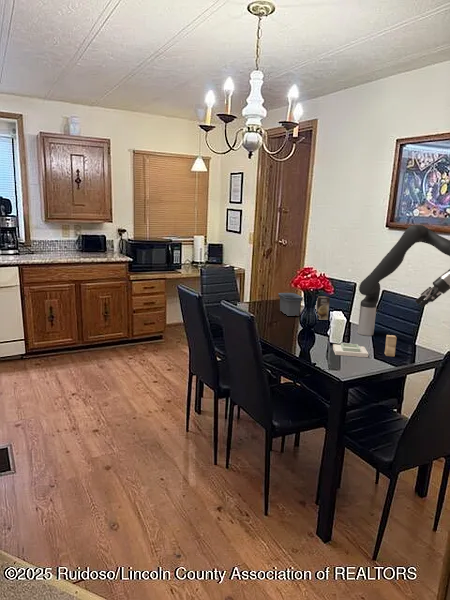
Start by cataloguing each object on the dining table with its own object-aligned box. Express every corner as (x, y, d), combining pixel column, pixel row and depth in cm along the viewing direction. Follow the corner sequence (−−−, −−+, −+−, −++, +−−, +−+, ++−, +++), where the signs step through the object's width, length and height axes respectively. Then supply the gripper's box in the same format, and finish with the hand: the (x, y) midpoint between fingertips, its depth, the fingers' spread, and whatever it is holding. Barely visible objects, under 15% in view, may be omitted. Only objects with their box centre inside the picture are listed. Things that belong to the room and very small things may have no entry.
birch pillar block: (384, 353, 219) (386, 335, 217) (392, 354, 218) (394, 335, 217) (386, 355, 215) (388, 337, 213) (394, 356, 215) (396, 337, 213)
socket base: (332, 347, 225) (333, 341, 225) (363, 350, 223) (364, 343, 223) (335, 354, 214) (335, 348, 213) (367, 357, 212) (368, 350, 211)
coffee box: (316, 321, 285) (318, 297, 282) (311, 318, 291) (313, 295, 288) (328, 320, 287) (330, 297, 284) (323, 318, 293) (325, 295, 290)
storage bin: (275, 311, 310) (276, 292, 307) (295, 311, 313) (296, 292, 310) (285, 318, 289) (286, 297, 287) (306, 318, 293) (307, 297, 290)
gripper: (435, 275, 213) (409, 296, 217) (445, 278, 199) (417, 301, 203) (445, 285, 213) (419, 307, 217) (456, 289, 199) (428, 312, 203)
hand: (418, 304), depth 210 cm, fingers open, 8 cm apart
